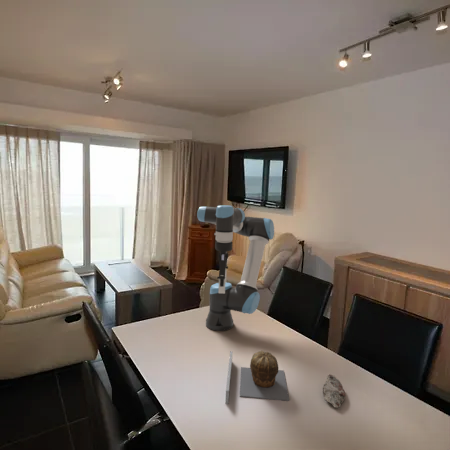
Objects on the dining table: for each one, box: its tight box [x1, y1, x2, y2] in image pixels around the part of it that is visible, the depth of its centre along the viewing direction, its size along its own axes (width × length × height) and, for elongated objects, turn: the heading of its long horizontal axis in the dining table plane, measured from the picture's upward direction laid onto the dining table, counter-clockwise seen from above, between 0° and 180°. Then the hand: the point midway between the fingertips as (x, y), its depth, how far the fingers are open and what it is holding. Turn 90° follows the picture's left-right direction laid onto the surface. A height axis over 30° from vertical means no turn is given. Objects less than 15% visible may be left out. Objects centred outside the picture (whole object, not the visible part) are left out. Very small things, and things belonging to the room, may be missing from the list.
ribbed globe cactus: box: [249, 350, 279, 388], centre depth 121 cm, size 11×11×12 cm
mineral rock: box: [322, 374, 346, 409], centre depth 116 cm, size 15×8×4 cm, turn 150°
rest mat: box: [239, 366, 290, 401], centre depth 122 cm, size 18×18×1 cm
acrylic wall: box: [225, 351, 233, 405], centre depth 123 cm, size 26×1×5 cm, turn 176°
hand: (222, 287), depth 139 cm, fingers open, 13 cm apart
